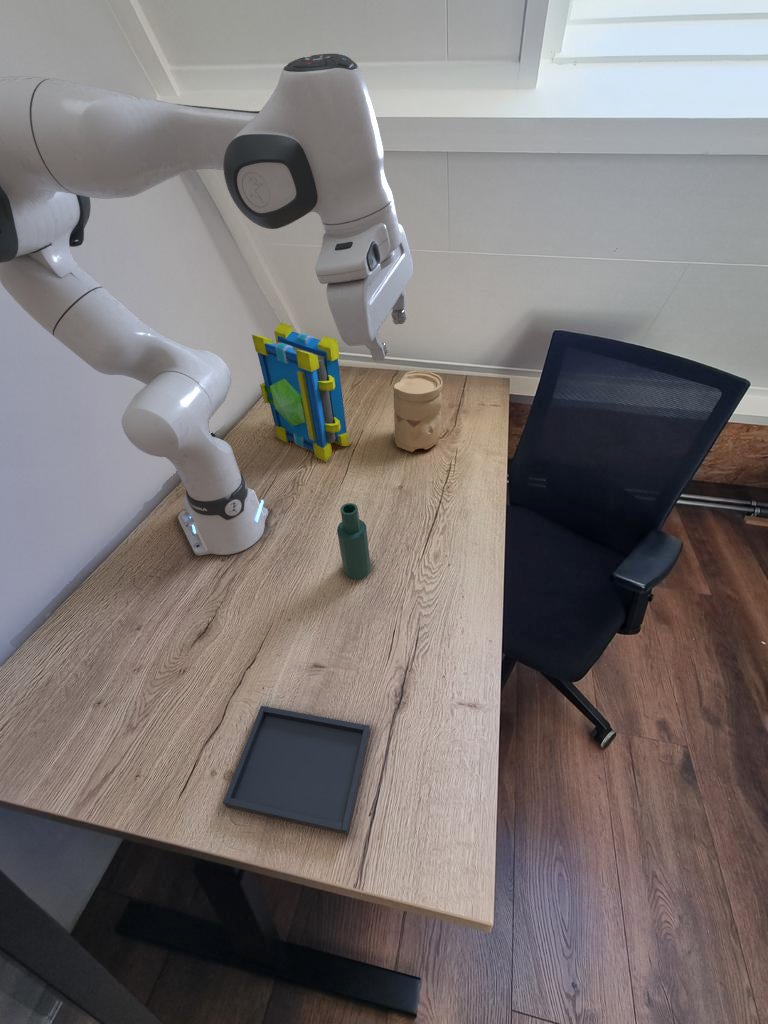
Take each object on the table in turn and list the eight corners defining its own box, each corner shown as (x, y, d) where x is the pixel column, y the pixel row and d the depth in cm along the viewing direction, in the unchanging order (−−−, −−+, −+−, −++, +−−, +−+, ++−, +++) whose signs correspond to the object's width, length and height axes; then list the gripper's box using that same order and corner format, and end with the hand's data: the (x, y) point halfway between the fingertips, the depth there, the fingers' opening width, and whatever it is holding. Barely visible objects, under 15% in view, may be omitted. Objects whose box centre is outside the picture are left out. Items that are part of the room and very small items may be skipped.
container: (390, 451, 124) (388, 391, 112) (400, 427, 133) (398, 369, 120) (436, 456, 121) (438, 395, 109) (443, 431, 130) (445, 372, 118)
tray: (226, 807, 63) (222, 803, 62) (263, 711, 73) (260, 705, 71) (348, 835, 60) (346, 831, 59) (370, 731, 70) (369, 725, 68)
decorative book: (303, 419, 139) (284, 319, 118) (359, 444, 127) (349, 338, 107) (267, 440, 131) (240, 337, 110) (323, 469, 119) (304, 360, 99)
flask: (338, 569, 94) (327, 509, 82) (358, 555, 97) (350, 494, 85) (356, 584, 91) (347, 523, 79) (375, 568, 94) (370, 508, 82)
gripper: (369, 207, 63) (393, 304, 73) (308, 277, 51) (346, 381, 61) (412, 199, 60) (430, 300, 70) (358, 270, 49) (389, 380, 59)
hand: (391, 339), depth 65 cm, fingers open, 8 cm apart
